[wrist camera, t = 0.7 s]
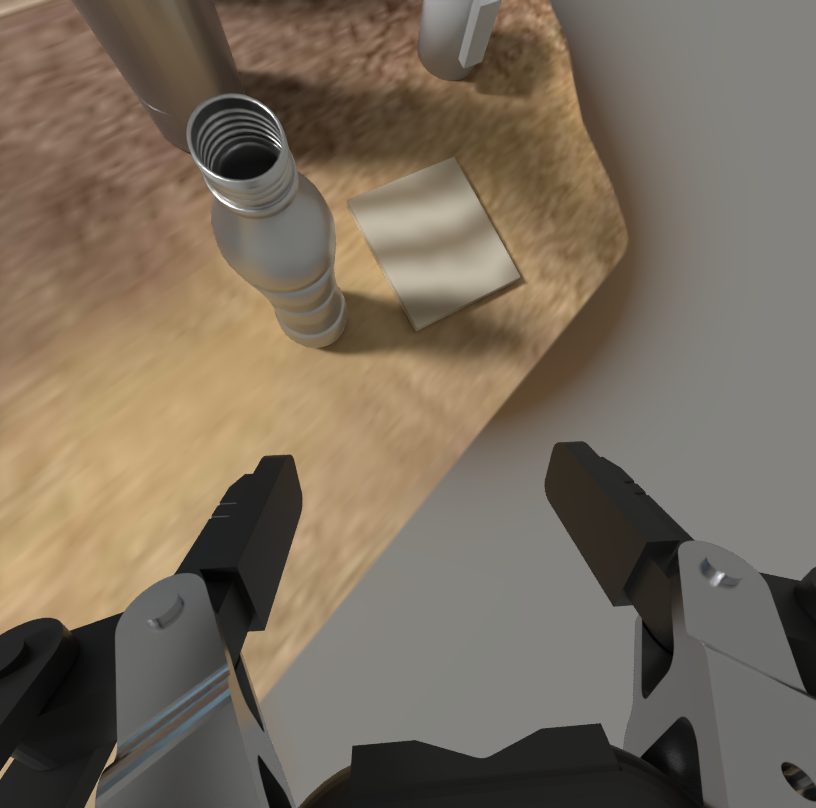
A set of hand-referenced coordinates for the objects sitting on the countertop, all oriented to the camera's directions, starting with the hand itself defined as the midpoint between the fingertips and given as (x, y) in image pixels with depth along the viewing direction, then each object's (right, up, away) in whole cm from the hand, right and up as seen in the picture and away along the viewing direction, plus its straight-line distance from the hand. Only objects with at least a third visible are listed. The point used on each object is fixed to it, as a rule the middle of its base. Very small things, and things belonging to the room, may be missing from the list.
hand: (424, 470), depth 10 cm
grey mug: (+4, +43, +27) cm, 51 cm away
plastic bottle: (-10, +10, +22) cm, 26 cm away
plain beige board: (+2, +19, +24) cm, 31 cm away
